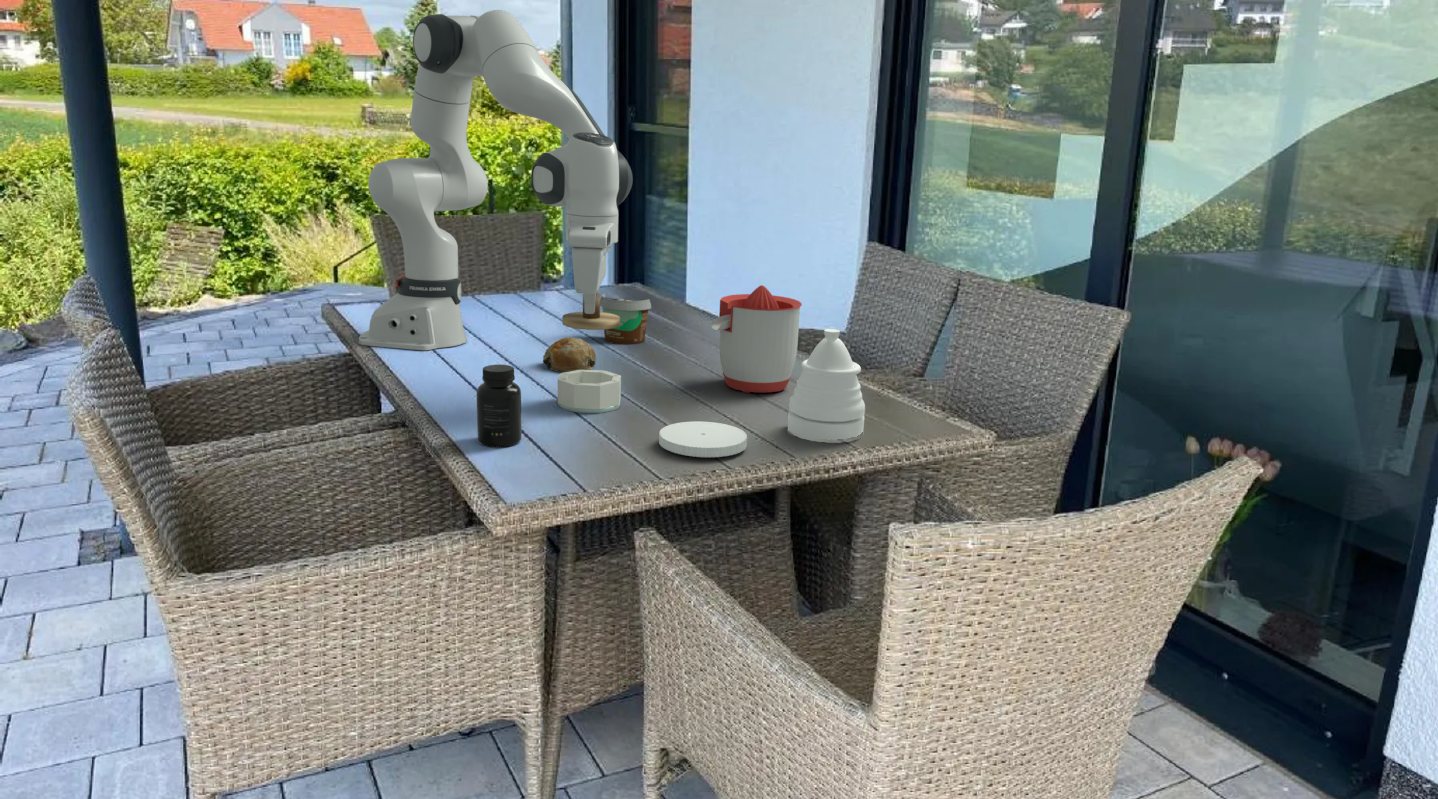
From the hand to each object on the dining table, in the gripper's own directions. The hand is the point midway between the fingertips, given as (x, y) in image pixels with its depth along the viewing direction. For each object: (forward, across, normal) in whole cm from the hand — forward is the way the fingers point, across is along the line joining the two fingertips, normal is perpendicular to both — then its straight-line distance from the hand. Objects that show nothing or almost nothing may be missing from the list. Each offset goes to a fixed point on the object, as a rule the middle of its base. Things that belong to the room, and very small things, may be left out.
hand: (591, 310), depth 188 cm
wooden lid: (+2, 0, 0) cm, 2 cm away
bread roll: (+17, -27, -7) cm, 33 cm away
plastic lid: (+18, +22, +20) cm, 35 cm away
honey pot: (+17, +11, +41) cm, 46 cm away
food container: (+17, -52, +2) cm, 55 cm away
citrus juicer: (+17, -17, +30) cm, 39 cm away
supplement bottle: (+17, +23, -12) cm, 31 cm away
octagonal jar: (+17, 0, 0) cm, 17 cm away
